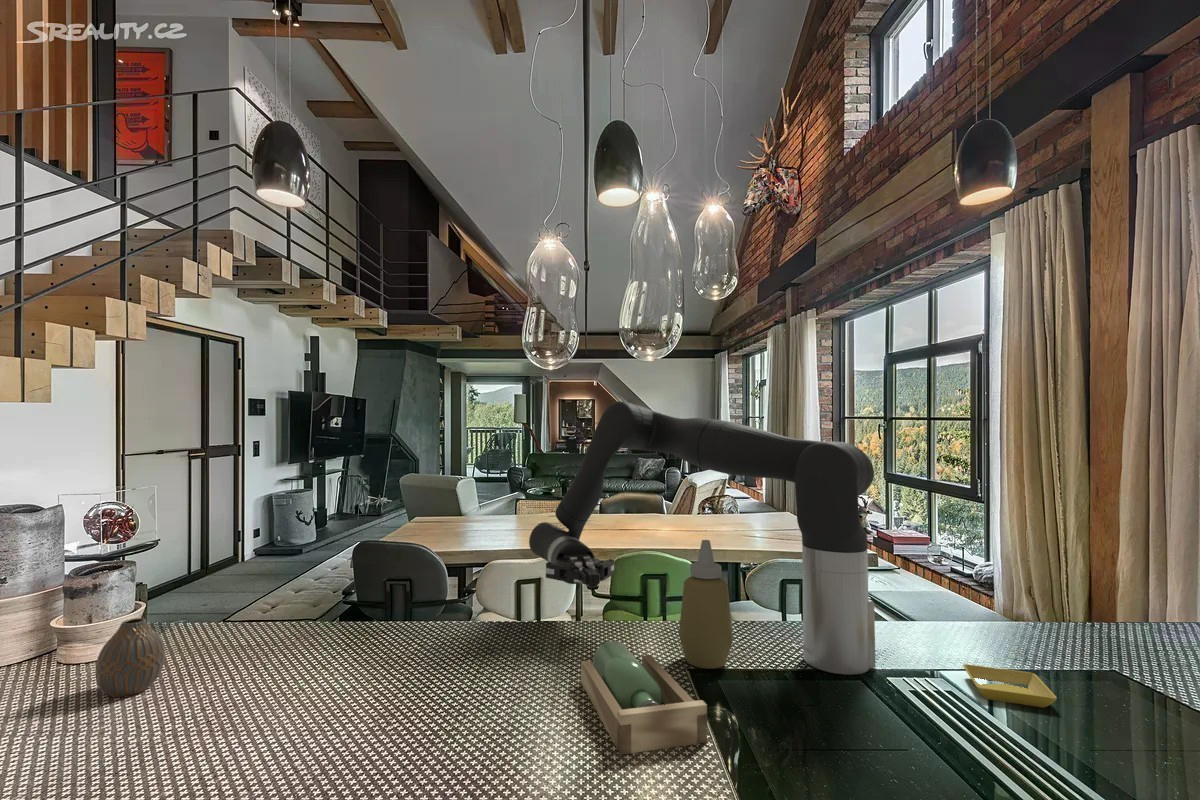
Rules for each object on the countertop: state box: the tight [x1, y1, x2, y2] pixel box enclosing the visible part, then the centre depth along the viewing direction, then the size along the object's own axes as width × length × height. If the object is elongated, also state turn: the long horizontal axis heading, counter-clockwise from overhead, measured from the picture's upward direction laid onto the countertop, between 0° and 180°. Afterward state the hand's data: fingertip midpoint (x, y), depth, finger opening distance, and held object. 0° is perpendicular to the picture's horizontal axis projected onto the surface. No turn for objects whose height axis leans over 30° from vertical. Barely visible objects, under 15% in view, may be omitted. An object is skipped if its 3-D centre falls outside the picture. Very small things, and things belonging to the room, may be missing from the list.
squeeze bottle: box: [678, 539, 734, 670], centre depth 85 cm, size 8×8×18 cm
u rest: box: [580, 654, 708, 755], centre depth 70 cm, size 10×18×4 cm, turn 16°
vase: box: [94, 617, 166, 698], centre depth 73 cm, size 7×7×9 cm
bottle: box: [592, 640, 662, 710], centre depth 70 cm, size 5×5×16 cm
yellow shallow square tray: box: [962, 663, 1058, 709], centre depth 76 cm, size 9×9×2 cm
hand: (593, 580), depth 91 cm, fingers closed
